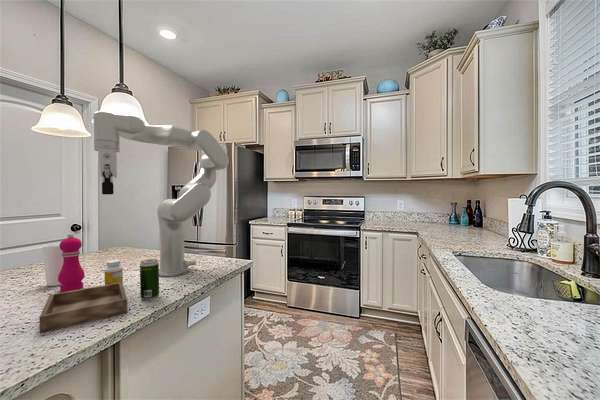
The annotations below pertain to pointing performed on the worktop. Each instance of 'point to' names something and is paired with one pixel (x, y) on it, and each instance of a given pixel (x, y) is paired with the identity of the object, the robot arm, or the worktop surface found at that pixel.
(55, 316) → the box
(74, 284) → the pepper mill
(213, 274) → the worktop surface
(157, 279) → the beer can
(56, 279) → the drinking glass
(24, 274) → the worktop surface
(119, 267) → the supplement bottle
